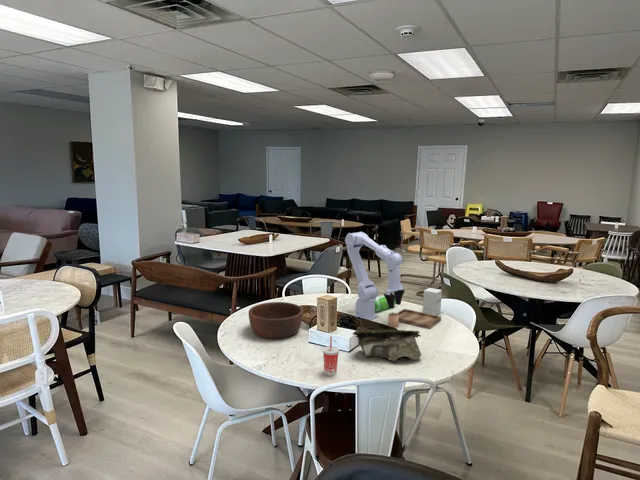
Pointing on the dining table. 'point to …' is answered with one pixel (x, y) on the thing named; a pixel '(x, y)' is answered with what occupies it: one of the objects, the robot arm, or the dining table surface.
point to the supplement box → (432, 301)
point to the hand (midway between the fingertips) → (394, 306)
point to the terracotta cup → (393, 319)
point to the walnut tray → (418, 318)
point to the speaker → (381, 303)
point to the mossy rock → (389, 343)
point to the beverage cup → (330, 359)
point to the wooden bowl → (275, 319)
